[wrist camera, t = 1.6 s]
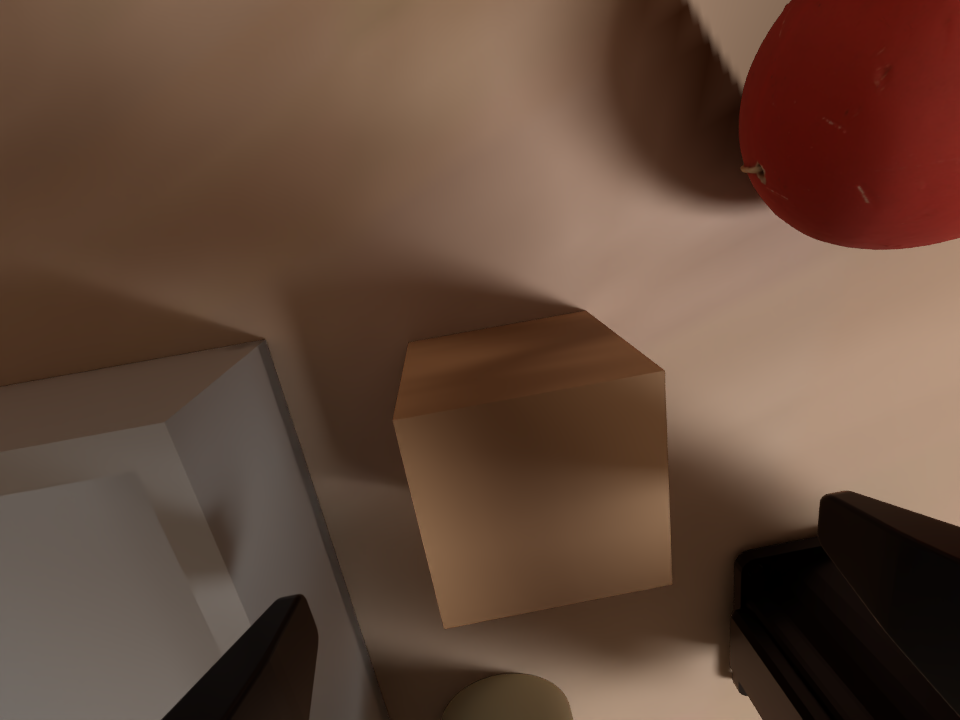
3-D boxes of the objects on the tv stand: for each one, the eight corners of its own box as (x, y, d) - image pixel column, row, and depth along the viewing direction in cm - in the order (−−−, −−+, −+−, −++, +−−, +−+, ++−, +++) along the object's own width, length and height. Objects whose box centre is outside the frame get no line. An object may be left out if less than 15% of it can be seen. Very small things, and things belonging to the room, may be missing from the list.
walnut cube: (584, 310, 13) (664, 370, 9) (598, 463, 15) (672, 584, 10) (408, 341, 13) (392, 420, 9) (442, 492, 15) (443, 628, 10)
